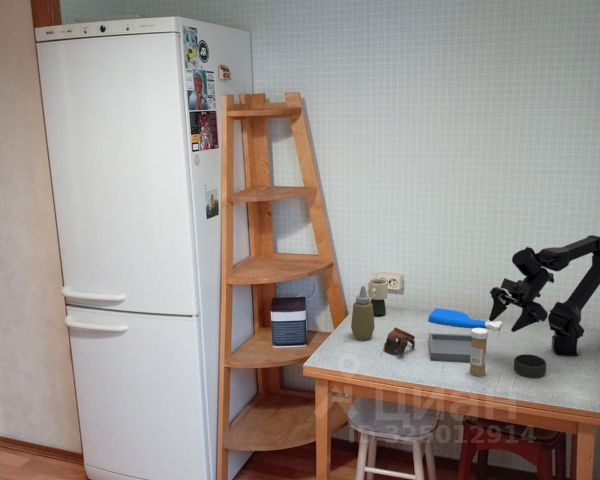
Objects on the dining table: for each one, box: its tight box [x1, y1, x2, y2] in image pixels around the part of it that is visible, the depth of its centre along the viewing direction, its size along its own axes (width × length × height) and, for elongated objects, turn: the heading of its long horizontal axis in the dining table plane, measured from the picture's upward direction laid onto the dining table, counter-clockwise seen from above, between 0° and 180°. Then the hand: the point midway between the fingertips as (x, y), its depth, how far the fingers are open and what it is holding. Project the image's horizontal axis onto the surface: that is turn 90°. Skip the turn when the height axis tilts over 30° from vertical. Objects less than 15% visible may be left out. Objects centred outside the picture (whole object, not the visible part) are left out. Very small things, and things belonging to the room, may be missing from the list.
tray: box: [428, 332, 472, 363], centre depth 187 cm, size 16×16×2 cm
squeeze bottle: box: [350, 285, 376, 341], centre depth 198 cm, size 8×8×18 cm
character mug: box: [367, 278, 389, 316], centre depth 220 cm, size 11×7×13 cm, turn 153°
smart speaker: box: [513, 353, 548, 379], centre depth 172 cm, size 9×9×4 cm
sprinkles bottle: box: [469, 328, 489, 377], centre depth 170 cm, size 5×5×13 cm
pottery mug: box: [383, 327, 416, 356], centre depth 188 cm, size 12×10×8 cm
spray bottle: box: [428, 307, 503, 331], centre depth 211 cm, size 3×11×24 cm
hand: (500, 325), depth 172 cm, fingers open, 9 cm apart
